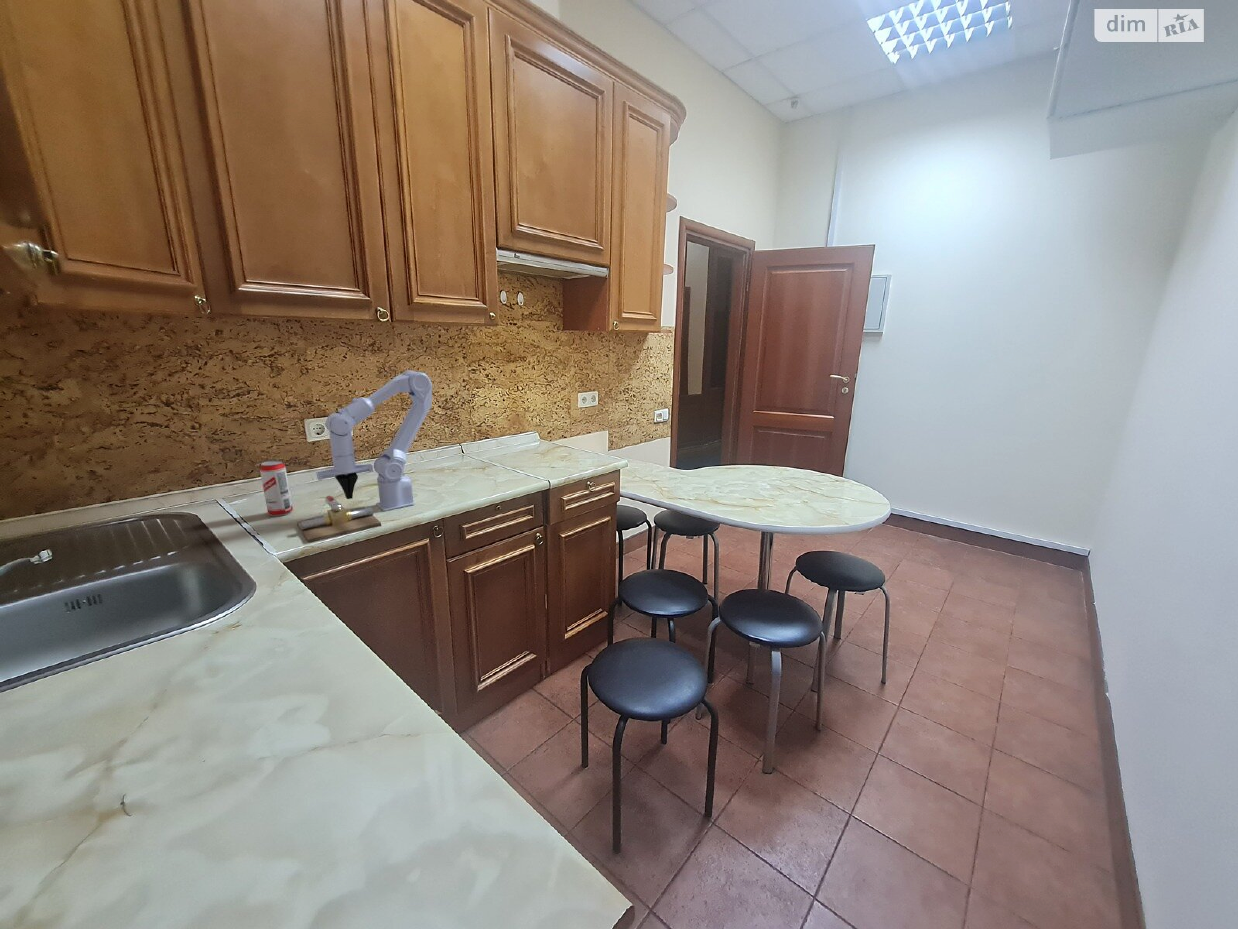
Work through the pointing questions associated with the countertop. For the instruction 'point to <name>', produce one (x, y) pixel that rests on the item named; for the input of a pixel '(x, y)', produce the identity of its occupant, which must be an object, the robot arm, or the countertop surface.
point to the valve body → (336, 518)
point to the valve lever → (333, 503)
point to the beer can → (276, 488)
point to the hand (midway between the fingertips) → (349, 497)
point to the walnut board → (339, 528)
